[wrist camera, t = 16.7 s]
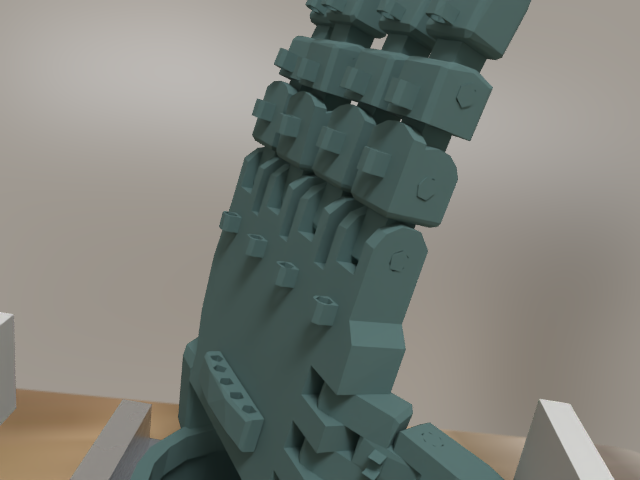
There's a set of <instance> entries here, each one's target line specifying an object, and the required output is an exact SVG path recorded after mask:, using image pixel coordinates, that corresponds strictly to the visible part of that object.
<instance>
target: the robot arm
mask: <svg viewBox="0 0 640 480" xmlns="http://www.w3.org/2000/svg"><path fill="white" fill-rule="evenodd" d="M15 385H16V384H15V343H14V315H13V314H8V313H2V312H0V425H1V424H2V423H3V422H4V421H5V420H6V419H7V418H8V416H9V415H10V414H11V413H12V412H13V411H14V410H15V409H16V386H15ZM514 480H614V478H613V476H612V475H611V473H610V471H609V470H608V468H607V466H606V464H605V463H604V461H603V459H602V458H601V456H600V454H599V453H598V451H597V449H596V447H595V446H594V444H593V442H592V441H591V439H590V437H589V435H588V434H587V432H586V431H585V429H584V427H583V425H582V424H581V422H580V420H579V418H578V417H577V415H576V413H575V412H574V410H573V408H572V406H571V405H570V404H568V403H562V402H556V401H549V400H543V399H539V401H538V404H537V407H536V410H535V413H534V417H533V420H532V423H531V426H530V429H529V432H528V435H527V439H526V442H525V445H524V448H523V451H522V454H521V458H520V461H519V464H518V467H517V470H516V473H515V476H514Z"/></svg>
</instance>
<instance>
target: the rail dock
mask: <svg viewBox="0 0 640 480" xmlns="http://www.w3.org/2000/svg"><path fill="white" fill-rule="evenodd" d="M151 411H152V404H147V403H141V402H135V401H129V400H122V401H121V403H120V404H119V406H118V407H117V409H116V411H115V412H114V414H113V415H112V417H111V418H110V420H109V421H108V423H107V424H106V426H105V427H104V429H103V430H102V432H101V433H100V435H99V436H98V438H97V439H96V441H95V442H94V444H93V445H92V447H91V448H90V450H89V451H88V453H87V454H86V456H85V457H84V459H83V460H82V462H81V463H80V465H79V466H78V468H77V469H76V471H75V472H74V474H73V475H72V477H71V479H70V480H130V479H131V476H132V474H133V472H134V470H135V468H136V465H137V463H138V462H139V461H140V459H141V458H142V457H143V456H144V454H145V453H146V452H147V451H148V450H149V448H150V447H151V446H153V445H155V444H156V443H158V442H160V441H161V440H158V439H152V438H150V426H151Z"/></svg>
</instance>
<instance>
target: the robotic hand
mask: <svg viewBox="0 0 640 480" xmlns="http://www.w3.org/2000/svg"><path fill="white" fill-rule="evenodd" d="M530 2H531V0H308V1H307V2H306V6H307V7H308V8H310V9H311V10H312V12H311V13H310V19H311V22H312V23H314V24H315V25H316V26H317V27H316V29H315V31H314V33H313V35H312V37H311V38H309V37H304V36H297V37H295V38H294V39H293V41H292V44H291V46H290V48H289V51H288V50H286V49H282V48H280V51H279V53H278V55H277V58H276V60H275V63H274V65H276V66H278V67H279V68H281V70H280V72H279V74H280V75H282V76H284V77H286V78H288V79H290V80H291V81H290V83H289V84H288V83H285V82H282V81H274V82H273V83H272V84H270V85H269V86H268V87H267V90H266V93H265V96H264V99H263V100H260V99H257V101H256V103H255V107H254V110H253V113H252V115H253V116H256V117H258V119H257V122H256V125H255V128H254V131H253V134H252V135H253V137H254V139H255V141H257V142H259V143H260V144H262V145H264V146H265V147H262V148H257V149H256V150H254V151H253V152H252V153H250V154H249V155H248V156H246V157H245V159H244V162H243V166H242V169H241V172H240V176H239V179H238V183H237V186H236V190H235V193H234V196H233V200H232V203H231V206H230V209H229V212H227V211H224V212H223V214H222V218H221V222H220V225H219V227H220V228H221V229H222V233H221V236H220V240H219V243H218V245H217V248H216V251H215V255H214V258H213V263H212V267H211V272H210V276H209V281H208V285H207V290H206V294H205V298H204V303H203V308H202V314H201V321H200V329H199V336H198V337H197V338H196V339H194V340H193V341H191V342H190V343H188V344H187V346H186V349H185V352H184V354H183V363H182V376H181V389H180V401H179V414H178V418H179V422H180V427H181V429H179V430H178V431H176V432H174V433H173V434H171V435H169V436H168V437H166V438H164V439H163V440H161V441H160V442H158V443H156V444H155V445H153V446H151V447H150V448H149V450H148V451H147V452H146V453H145V454H144V456H143V457H142V458H141V459H140V461H139V462H138V463H137V465H136V468H135V470H134V472H133V474H132V476H131V479H130V480H504V479H503V478H502V477H501V476H500V475H499V474H498V473H496V472H495V471H494V470H493V469H492V468H491V467H490V466H489V465H488V464H486V463H485V462H483V461H482V460H481V459H479V458H478V457H476V456H475V455H474V454H472V453H471V452H470V451H468V450H467V449H465V448H464V447H463V446H461V445H460V444H459V443H457V442H456V441H454V440H453V439H452V438H450V437H449V436H448V435H446V434H445V433H443V432H442V431H441V430H439V429H438V428H437V427H435V426H434V425H432V424H431V423H425V424H420V425H417V426H414V427H411V428H408V429H406V428H407V426H408V423H409V421H410V418H411V416H412V414H413V411H412V404H410V403H408V402H407V401H405V400H403V399H401V398H400V397H398V396H396V395H394V394H393V393H391V390H392V387H393V384H394V381H395V378H396V376H397V373H398V370H399V367H400V364H401V361H402V358H403V356H404V353H405V350H406V349H405V342H404V335H403V329H402V322H403V319H404V317H405V314H406V311H407V308H408V306H409V303H410V300H411V297H412V294H413V291H414V289H415V286H416V283H417V280H418V277H419V275H420V272H421V269H422V266H423V264H424V261H425V258H426V255H427V252H428V250H427V247H426V244H425V242H424V239H423V236H422V234H421V232H419V231H417V230H415V229H414V228H415V225H421V226H425V227H437V226H439V225H440V224H441V221H442V219H443V216H444V213H445V211H446V208H447V206H448V203H449V201H450V198H451V196H452V193H453V190H454V188H455V186H456V183H457V180H458V176H457V168H456V166H455V164H454V162H453V160H452V158H451V156H450V155H448V154H446V153H445V151H446V148H447V146H448V143H449V141H450V139H451V136H452V135H453V136H456V137H459V138H462V139H465V140H468V141H470V140H471V138H472V136H473V133H474V131H475V129H476V126H477V124H478V122H479V119H480V117H481V115H482V112H483V110H484V107H485V105H486V103H487V100H488V98H489V96H490V93H491V91H492V88H493V87H492V86H491V85H490V84H489V83H488V82H487V81H486V80H485V79H484V78H483V77H482V76H481V74H480V71H481V69H482V67H483V65H484V63H485V61H486V59H492V60H497V59H499V58H502V56H503V54H504V52H505V51H506V49H507V47H508V45H509V43H510V41H511V40H512V38H513V36H514V34H515V32H516V30H517V28H518V26H519V25H520V23H521V21H522V19H523V17H524V15H525V14H526V12H527V10H528V7H529V4H530ZM386 34H388V36H387V38H386V41H385V43H384V45H383V47H382V50H377V49H371V48H370V47H371V45H372V42H373V40H374V38H383V37H385V36H386ZM430 53H431V54H430ZM429 55H430V56H429ZM428 57H429V58H428ZM351 100H352V101H355V102H358V105H357V106H355V105H351V104H350V103H351ZM401 119H402V121H401V122H400V120H401Z"/></svg>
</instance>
